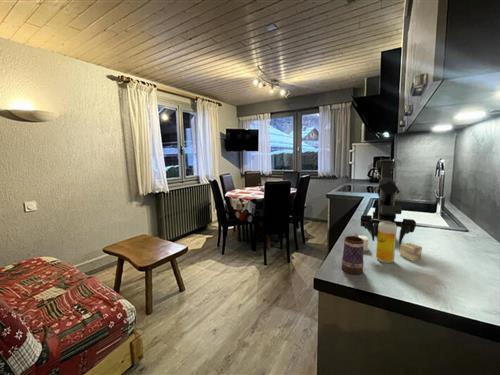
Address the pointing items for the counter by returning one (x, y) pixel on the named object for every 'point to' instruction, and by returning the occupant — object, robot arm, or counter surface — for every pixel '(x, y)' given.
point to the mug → (353, 255)
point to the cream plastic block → (364, 242)
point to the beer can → (386, 241)
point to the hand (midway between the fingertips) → (386, 242)
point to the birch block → (410, 251)
